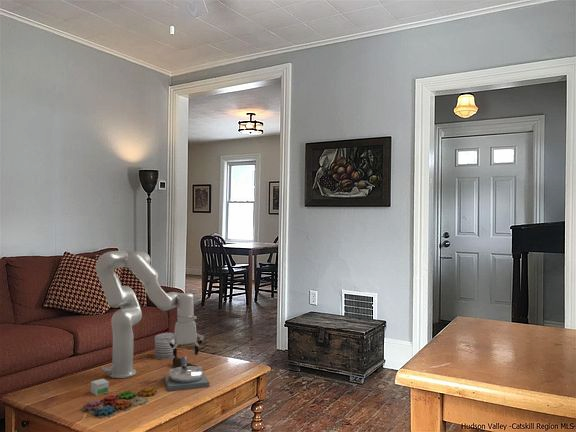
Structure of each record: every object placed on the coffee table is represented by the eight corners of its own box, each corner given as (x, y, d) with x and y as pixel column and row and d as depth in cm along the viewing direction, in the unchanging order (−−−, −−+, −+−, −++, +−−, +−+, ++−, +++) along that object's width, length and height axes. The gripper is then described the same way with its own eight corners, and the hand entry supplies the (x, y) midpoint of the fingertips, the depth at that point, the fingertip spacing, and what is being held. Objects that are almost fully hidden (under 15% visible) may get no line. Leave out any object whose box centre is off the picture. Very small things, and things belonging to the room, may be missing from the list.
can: (175, 359, 253) (175, 336, 253) (153, 359, 250) (154, 337, 251) (175, 353, 264) (176, 332, 264) (155, 354, 261) (155, 332, 262)
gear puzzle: (144, 388, 208) (145, 379, 208) (168, 397, 199) (169, 387, 199) (78, 410, 183) (79, 400, 183) (102, 421, 173) (103, 410, 173)
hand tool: (197, 372, 231) (198, 363, 231) (190, 374, 228) (191, 364, 228) (177, 364, 245) (177, 355, 245) (170, 365, 242) (171, 356, 242)
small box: (96, 396, 197) (96, 384, 197) (90, 392, 201) (90, 381, 201) (109, 392, 201) (109, 381, 202) (103, 389, 205) (103, 378, 205)
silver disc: (171, 384, 206) (172, 366, 206) (167, 374, 220) (167, 357, 220) (205, 380, 212) (205, 363, 212) (199, 371, 226) (199, 354, 226)
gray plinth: (168, 391, 204) (168, 379, 204) (163, 378, 221) (163, 367, 221) (209, 386, 211) (209, 375, 211) (201, 374, 227) (201, 364, 228)
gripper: (202, 316, 228) (202, 351, 228) (165, 319, 222) (166, 355, 221) (205, 319, 221) (205, 355, 221) (167, 322, 215) (168, 359, 214)
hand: (185, 355), depth 221 cm, fingers open, 9 cm apart
